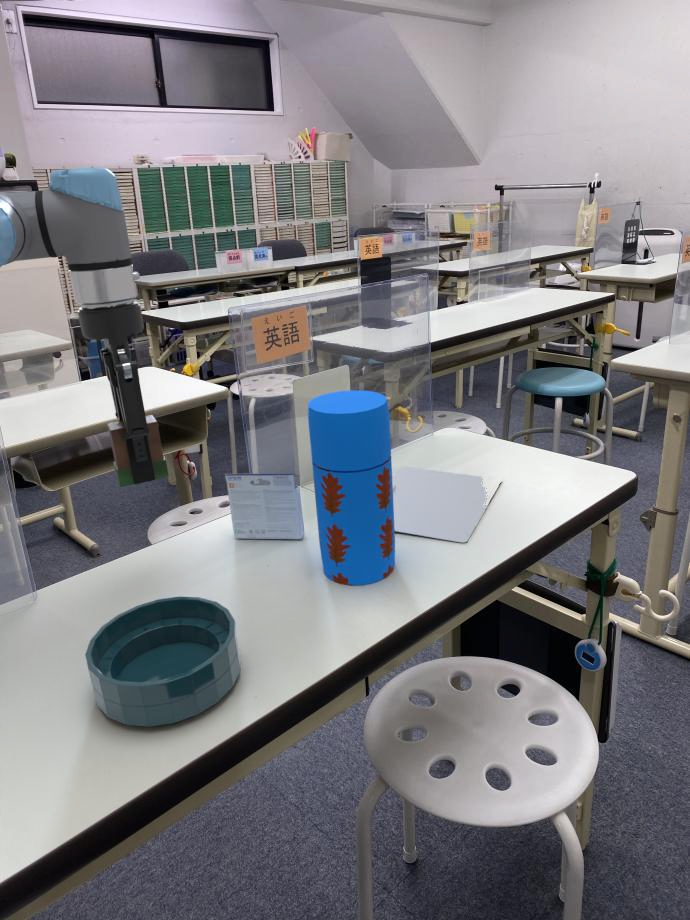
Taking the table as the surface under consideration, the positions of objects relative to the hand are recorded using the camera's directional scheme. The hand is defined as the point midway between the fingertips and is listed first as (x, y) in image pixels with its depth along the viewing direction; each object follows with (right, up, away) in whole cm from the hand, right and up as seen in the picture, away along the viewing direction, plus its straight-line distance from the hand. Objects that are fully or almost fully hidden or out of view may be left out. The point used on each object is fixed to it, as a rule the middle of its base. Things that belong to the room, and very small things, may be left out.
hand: (141, 475), depth 94 cm
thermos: (+30, -13, +6) cm, 33 cm away
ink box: (+16, -10, +17) cm, 25 cm away
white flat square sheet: (+41, -5, +25) cm, 48 cm away
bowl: (+8, -23, -15) cm, 29 cm away
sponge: (0, 0, 0) cm, 0 cm away
